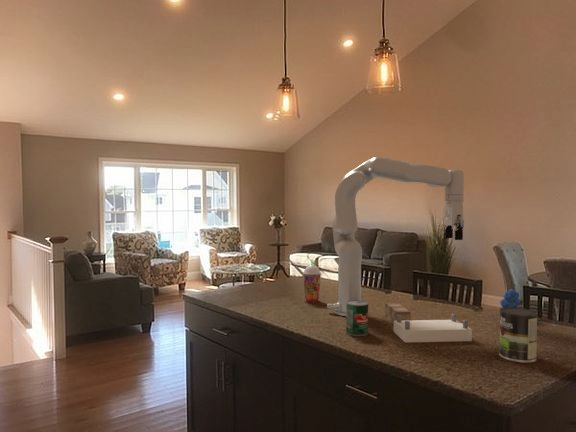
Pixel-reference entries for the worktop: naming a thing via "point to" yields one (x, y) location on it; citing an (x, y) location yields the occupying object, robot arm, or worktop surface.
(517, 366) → the worktop surface
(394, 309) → the brown wooden block
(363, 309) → the canned tomato
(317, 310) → the worktop surface
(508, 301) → the grapes
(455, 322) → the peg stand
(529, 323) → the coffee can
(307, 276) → the smoothie
